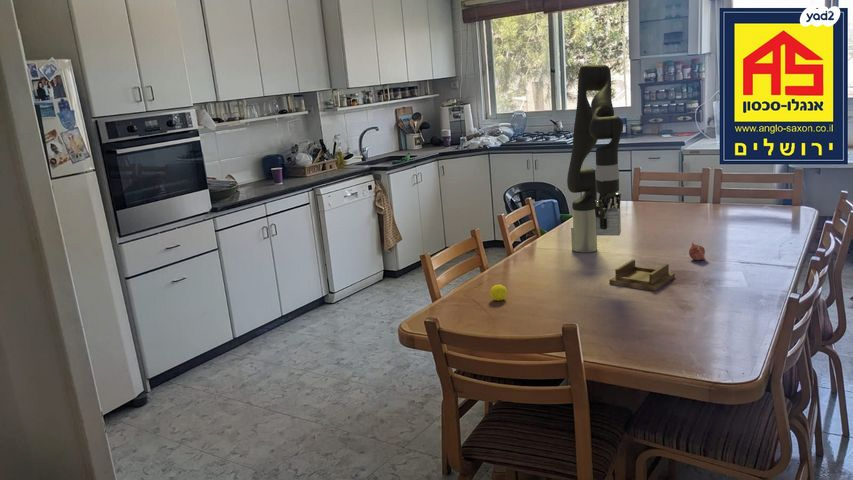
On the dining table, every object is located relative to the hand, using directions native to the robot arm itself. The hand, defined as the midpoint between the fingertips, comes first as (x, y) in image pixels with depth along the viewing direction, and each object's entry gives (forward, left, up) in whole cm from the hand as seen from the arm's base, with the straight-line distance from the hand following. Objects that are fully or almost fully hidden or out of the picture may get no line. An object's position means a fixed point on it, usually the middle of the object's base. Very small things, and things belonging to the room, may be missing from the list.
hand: (608, 226), depth 224 cm
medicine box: (0, 0, -3) cm, 3 cm away
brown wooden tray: (+9, +6, -20) cm, 22 cm away
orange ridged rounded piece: (+16, +37, -20) cm, 45 cm away
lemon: (-23, -33, -20) cm, 45 cm away
